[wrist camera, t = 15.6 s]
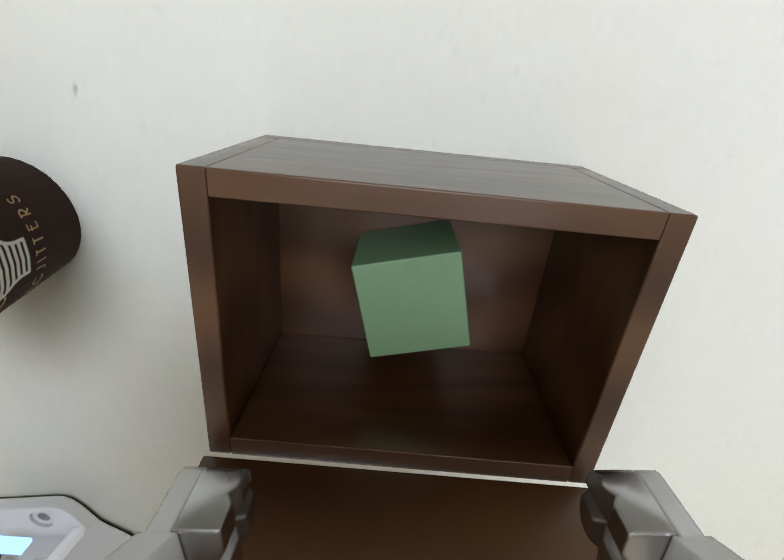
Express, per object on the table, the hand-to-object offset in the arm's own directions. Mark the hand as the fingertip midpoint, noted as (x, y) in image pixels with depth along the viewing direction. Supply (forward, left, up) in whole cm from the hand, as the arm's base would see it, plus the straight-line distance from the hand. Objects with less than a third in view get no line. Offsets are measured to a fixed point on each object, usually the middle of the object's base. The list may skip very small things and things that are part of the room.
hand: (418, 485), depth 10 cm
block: (0, 0, -13) cm, 13 cm away
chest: (0, 0, -14) cm, 14 cm away
